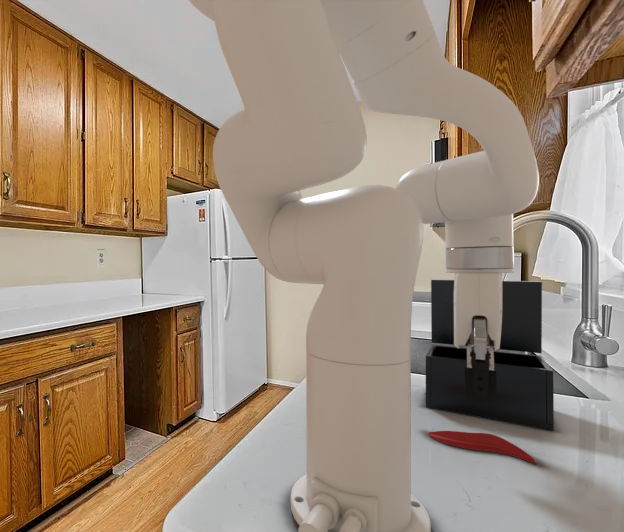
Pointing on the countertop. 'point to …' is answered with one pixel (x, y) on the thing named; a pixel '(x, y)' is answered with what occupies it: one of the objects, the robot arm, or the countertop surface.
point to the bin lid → (515, 314)
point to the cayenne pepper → (480, 443)
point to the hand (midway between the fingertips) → (479, 389)
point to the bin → (510, 387)
